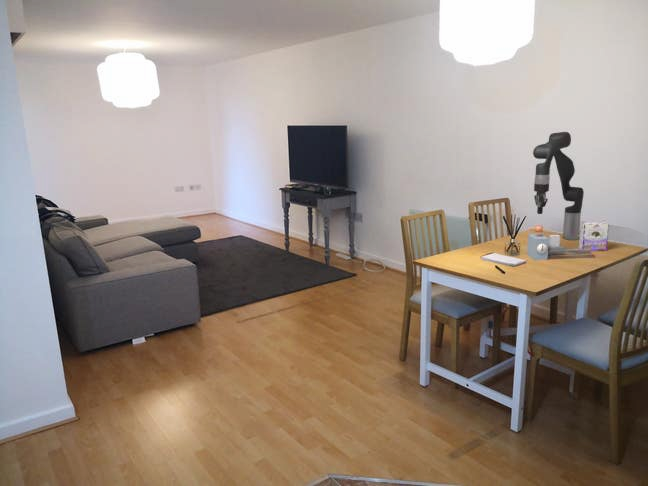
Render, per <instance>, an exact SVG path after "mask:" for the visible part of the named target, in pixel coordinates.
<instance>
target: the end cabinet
mask: <svg viewBox="0 0 648 486" xmlns="http://www.w3.org/2000/svg"><path fill="white" fill-rule="evenodd" d="M526 245H527V246H526V255H527V256H528V257H530V258H531V259H533V260H534V261H537V260H538V261H541V260H549V259H548V245H549V237H547V236H545V235H543V234H541V233H527V244H526Z"/></svg>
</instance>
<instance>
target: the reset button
mask: <svg viewBox="0 0 648 486" xmlns="http://www.w3.org/2000/svg"><path fill="white" fill-rule="evenodd" d="M543 228H544V226H543V225H534V232H535V233H542V232H543Z"/></svg>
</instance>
